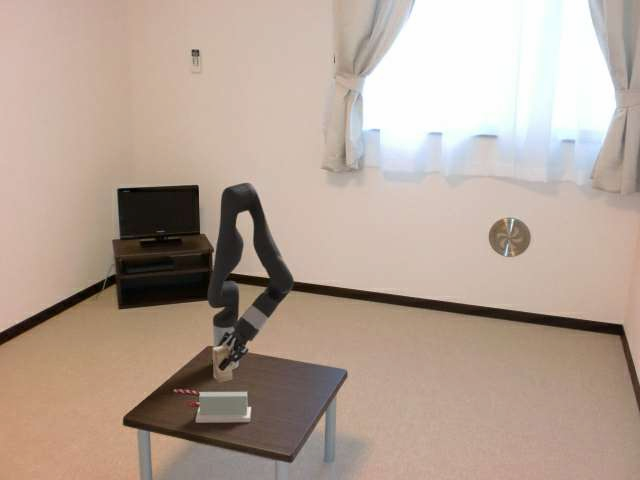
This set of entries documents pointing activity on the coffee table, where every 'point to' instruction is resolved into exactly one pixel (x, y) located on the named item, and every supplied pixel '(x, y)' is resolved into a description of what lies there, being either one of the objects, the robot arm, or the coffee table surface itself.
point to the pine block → (218, 357)
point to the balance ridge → (223, 407)
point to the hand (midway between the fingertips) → (217, 366)
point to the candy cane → (190, 393)
